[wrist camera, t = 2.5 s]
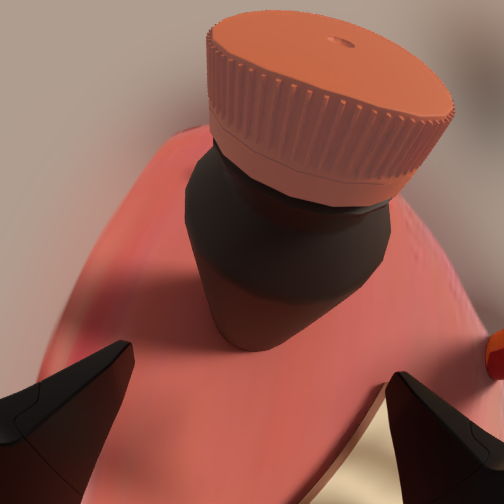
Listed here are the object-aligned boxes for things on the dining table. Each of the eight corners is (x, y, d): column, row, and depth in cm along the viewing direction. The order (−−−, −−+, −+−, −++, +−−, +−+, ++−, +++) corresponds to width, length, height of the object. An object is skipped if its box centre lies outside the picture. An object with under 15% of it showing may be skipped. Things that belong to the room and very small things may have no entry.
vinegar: (312, 303, 22) (486, 96, 4) (262, 369, 20) (491, 298, 2) (248, 255, 24) (286, -4, 6) (195, 315, 21) (80, 56, 3)
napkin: (383, 537, 12) (390, 542, 10) (290, 511, 14) (294, 519, 13) (457, 426, 17) (467, 427, 16) (384, 382, 19) (393, 382, 18)
